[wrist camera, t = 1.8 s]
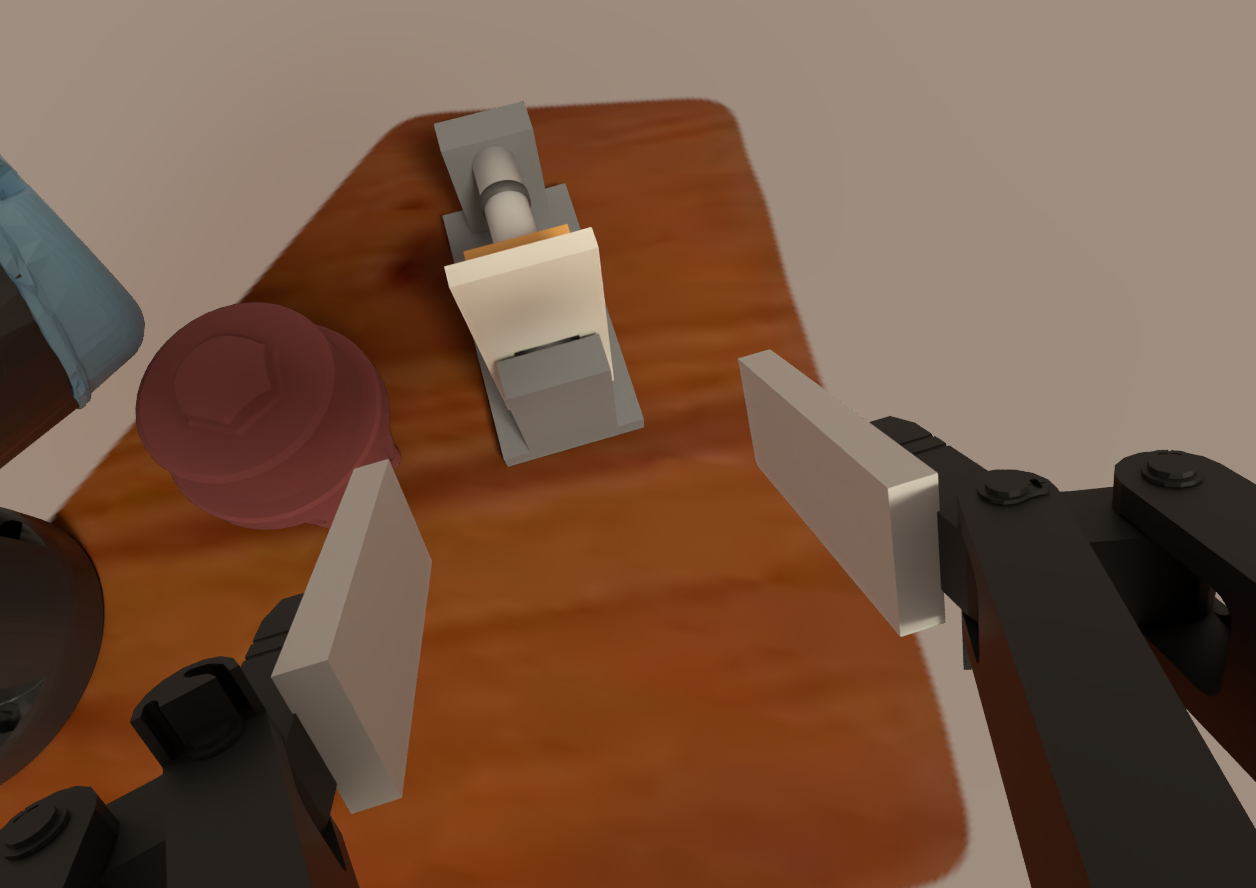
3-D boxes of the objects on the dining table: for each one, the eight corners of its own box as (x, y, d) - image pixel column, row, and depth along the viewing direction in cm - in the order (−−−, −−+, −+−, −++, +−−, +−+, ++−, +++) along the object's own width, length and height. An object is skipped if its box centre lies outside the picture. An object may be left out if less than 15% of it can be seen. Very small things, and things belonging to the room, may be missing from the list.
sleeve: (613, 380, 39) (598, 247, 28) (508, 410, 39) (449, 287, 28) (594, 319, 41) (571, 169, 29) (492, 348, 40) (429, 206, 29)
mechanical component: (331, 598, 38) (219, 478, 40) (468, 464, 40) (354, 359, 43) (190, 549, 26) (47, 385, 29) (393, 366, 29) (244, 230, 31)
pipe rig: (643, 427, 41) (642, 361, 33) (507, 466, 40) (473, 409, 32) (567, 196, 46) (550, 94, 39) (447, 227, 46) (406, 130, 38)
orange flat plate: (583, 301, 39) (573, 243, 34) (491, 326, 39) (468, 271, 34) (577, 283, 40) (567, 223, 35) (486, 308, 39) (463, 251, 34)
